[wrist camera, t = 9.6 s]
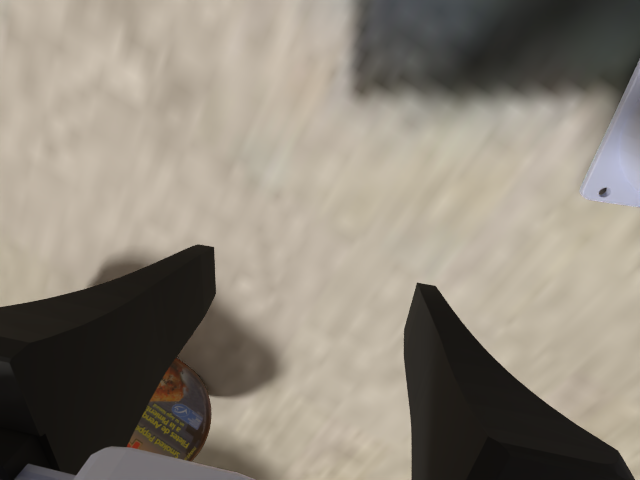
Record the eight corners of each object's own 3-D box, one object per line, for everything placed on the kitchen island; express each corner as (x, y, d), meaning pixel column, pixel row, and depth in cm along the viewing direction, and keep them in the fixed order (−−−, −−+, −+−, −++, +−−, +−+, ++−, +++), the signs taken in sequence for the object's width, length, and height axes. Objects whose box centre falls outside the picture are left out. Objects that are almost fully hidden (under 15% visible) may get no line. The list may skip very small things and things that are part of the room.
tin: (228, 395, 31) (178, 503, 24) (207, 410, 32) (154, 516, 25) (76, 280, 28) (-37, 364, 20) (60, 302, 29) (-51, 387, 22)
